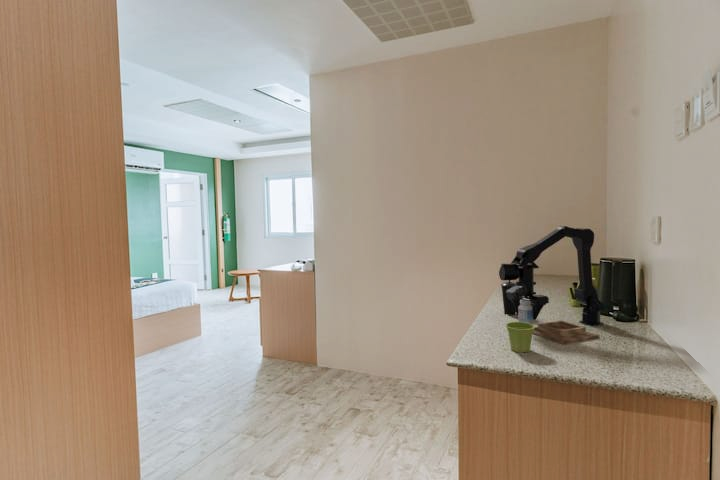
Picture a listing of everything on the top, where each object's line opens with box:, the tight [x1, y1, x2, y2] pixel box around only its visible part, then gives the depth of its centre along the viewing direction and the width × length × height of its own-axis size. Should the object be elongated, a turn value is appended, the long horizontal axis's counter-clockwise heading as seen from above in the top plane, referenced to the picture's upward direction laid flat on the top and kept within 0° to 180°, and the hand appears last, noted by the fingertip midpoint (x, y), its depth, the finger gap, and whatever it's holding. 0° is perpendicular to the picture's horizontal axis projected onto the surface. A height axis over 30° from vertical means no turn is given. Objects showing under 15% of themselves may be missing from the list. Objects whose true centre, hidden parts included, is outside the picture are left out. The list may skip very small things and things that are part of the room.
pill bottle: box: [517, 298, 535, 326], centre depth 170 cm, size 6×6×11 cm
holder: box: [532, 320, 600, 345], centre depth 159 cm, size 18×18×4 cm
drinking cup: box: [500, 280, 517, 316], centre depth 192 cm, size 8×8×20 cm
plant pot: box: [505, 321, 536, 354], centre depth 143 cm, size 9×9×9 cm
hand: (526, 317), depth 170 cm, fingers open, 9 cm apart
